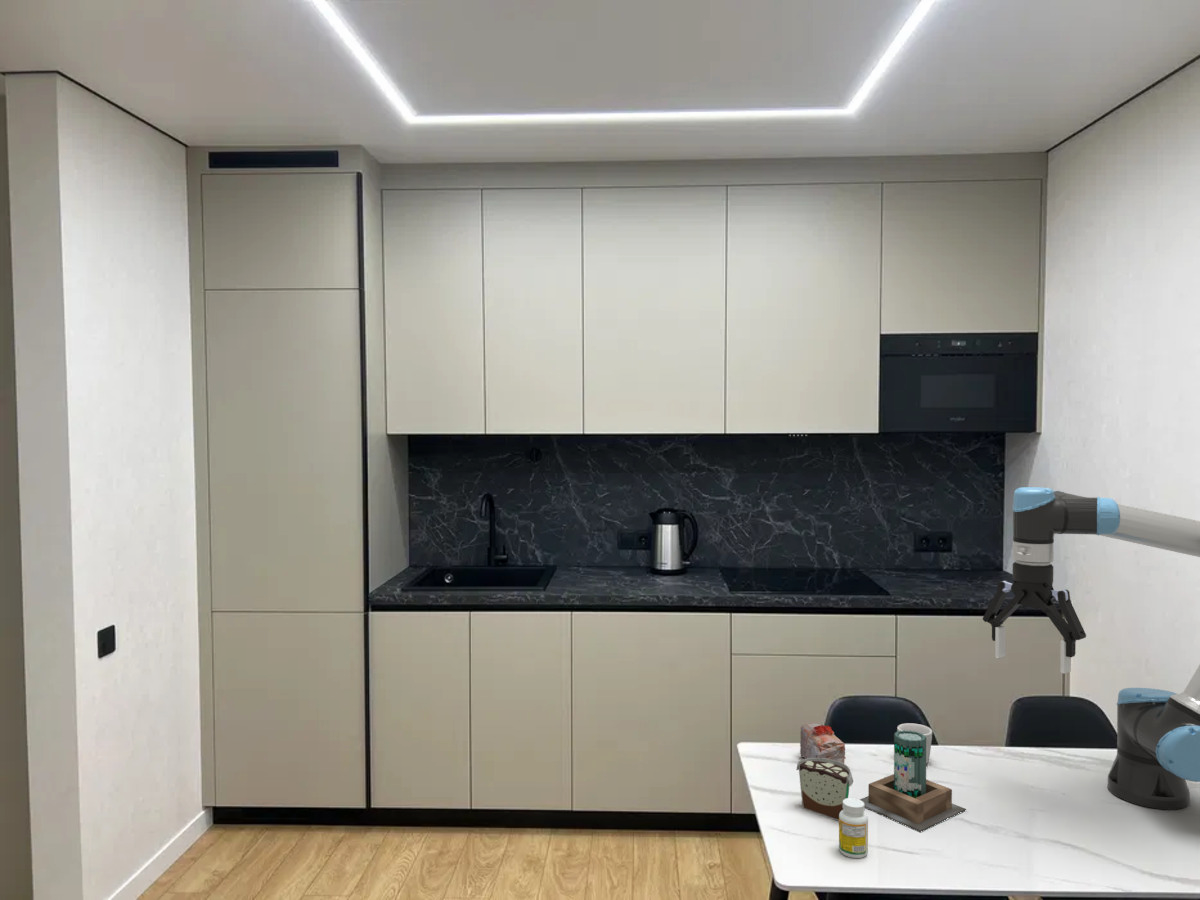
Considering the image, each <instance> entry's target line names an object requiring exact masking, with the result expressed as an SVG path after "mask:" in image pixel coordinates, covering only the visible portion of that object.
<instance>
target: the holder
mask: <svg viewBox="0 0 1200 900" xmlns="http://www.w3.org/2000/svg"><path fill="white" fill-rule="evenodd" d="M867 787H868V795H867V796H865V797H863V798H860V799H859V800H861V801H863V802H864V807H865V809H866V810H869V811H872V812H873V813H875V814H878V815H880V816H882V815H883V817H885V818H887V817H888V818H887V819H889V818H890V819H889V820H891V819H893V820H892V821H894V820H895V821H894V822H896V821H897V822H896V823H898V822H899V823H898V824H900V823H902V824H901V825H903V824H904V825H903V826H905V825H906V826H905V827H907V826H908V827H907V828H909V827H911V828H910V829H911V830H914V829H915V831H916V830H917V831H916V832H918V831H919V832H918V833H922V832H924V831H927V830H928V828H929V829H930V827H931V828H933V827H934V825H935V824H937V823H939V822H941V823H943V822H945V821H947V820H946V819H947V818H950V817H952V816H954V815H956V814H958V813H960V812H962V813H964V812H966V811H967V809H966V808H965V807H963V806H960V805H957V804H955V803H953V801H952V800H953V789H952V788H949V787H947V786H944V785H942V784H939V783H937V782H935V781H932V780H929V779H926V794H924V795H922V796H919V797H917V798H913V797H911V796H908V795H906V794H903V793H901V792H898V791H896V790H894V773H892V774H891V775H888V776H885V777H883V778H880V779H877V780H876V781H872V782H871V783H868V786H867ZM965 810H966V811H965ZM963 811H964V812H963ZM960 814H961V813H960ZM958 815H959V814H958ZM956 816H957V815H956ZM954 817H955V816H954ZM952 818H953V817H952ZM950 819H951V818H950ZM944 820H945V821H944ZM942 821H943V822H942ZM939 824H940V823H939ZM937 825H938V824H937ZM932 826H933V827H932ZM935 826H936V825H935ZM926 829H927V830H926ZM923 830H924V831H923ZM921 831H922V832H921Z"/></svg>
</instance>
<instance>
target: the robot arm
mask: <svg viewBox="0 0 1200 900" xmlns="http://www.w3.org/2000/svg"><path fill="white" fill-rule="evenodd" d="M1013 493H1014V494H1013V501H1012V533H1013V534H1012V559H1013V563H1012V580H1013V581H1012V583H1011V582H1009V580H1006V579H1005V580H1002V581H999V582H998V583H997V586H996V592H995V593H994V595H993V598H992V600H991V601H990V604H989V605H988V607H987V608H986V611H985V613H984V614H983V616H982V620H983V622H985V623H988V624H990V625H991V640H992V642H993V641H994V642H995V645H994V650H995V651H994V652H995V653H994V655H995V657H994V658H996V659H1002V658H1005V657H1006V656H1007V655H1006V653H1007V652H1006V646H1007V645H1006V643H1007V642H1006V640H1007V639H1006V634H1007V632H1006V630H1007V628H1006V627H1007V626H1006V625H1003V624H1004V623H1005V621H1006V620H1007V619H1009V618H1010V616H1012V615H1013V614H1014V612H1015V611H1016V610H1017V609H1018V608H1020V606H1022V607H1024V608H1029V607H1030V608H1032V609H1036V610H1039V609H1040V610H1041V611H1042V612H1043V613H1045V615H1047V618H1048V619H1049V620H1050V621H1051V622H1052V624H1053V625H1054V627H1055V628H1056V629H1057V631H1058V632H1059V634H1060V635H1061V636H1062V638H1063V639H1061V640H1060V654H1059V655H1060V661H1059V663H1060V664H1059V665H1060V667H1059V668H1060V669H1059V673H1060V674H1064V675H1065V674H1067V673H1070V672H1072V658H1073V657H1075V656H1076V642H1077V641H1080V640H1083V639H1086V637H1087V633H1086V632H1085V630H1084V627H1083V625H1082V623H1081V621H1080V618H1079V617H1078V615H1077V612H1076V610H1075V608H1074V606H1073V604H1072V601H1071V597H1070V596H1071V594H1070V591H1069V590H1068V589H1062V590H1058V589H1057V590H1056V589H1054V587H1053V586H1054V585H1053V583H1054V565H1053V564H1052V563H1053V562H1054V561H1055V559H1054V541H1055V540H1054V538H1055V535H1056V534H1057V535H1063V534H1064V535H1096V536H1101V537H1106V538H1111V539H1115V540H1118V541H1123V542H1129V543H1133V544H1138V545H1142V546H1147V547H1151V548H1156V549H1161V550H1165V551H1170V552H1175V553H1178V554H1183V555H1188V556H1192V557H1198V558H1200V520H1195V519H1192V518H1191V519H1190V518H1186V517H1182V516H1176V515H1171V514H1167V513H1163V512H1158V511H1153V510H1148V509H1145V508H1138V507H1134V506H1129V505H1124V504H1121V503H1117V501H1115V500H1114V499H1113V498H1111V497H1100V496H1097V497H1087V496H1081V495H1076V494H1072V493H1067V492H1064V491H1061V490H1054V489H1052V488H1050V487H1037V486H1036V487H1034V486H1033V487H1032V486H1031V487H1030V486H1029V487H1028V486H1027V487H1026V486H1025V487H1024V486H1023V487H1018V488H1016V489H1015V490H1014V492H1013ZM1010 592H1011V593H1013V595H1014V596H1013V598H1011V600H1010V601H1009V602H1008V604H1007V605H1005V607H1004V608H1003V609H1002V610H1001V611H1000V608H1002V605H1003V603H1004V601H1005V599H1006V598H1007V595H1008V594H1009V593H1010ZM1054 597H1055V600H1056V601H1057V602H1058V606H1059V608H1060V611H1061V612H1062V614H1063V616H1064V617H1063V616H1062V614H1061V613H1060V611H1059V610H1058V609H1057V605H1056V604H1055V603H1054V602H1053V600H1052V599H1053V598H1054ZM999 611H1000V612H999ZM998 612H999V613H998ZM1116 706H1117V707H1116V708H1117V716H1116V717H1117V718H1116V720H1117V722H1116V723H1117V724H1116V726H1117V728H1116V730H1117V733H1116V734H1117V736H1116V737H1117V738H1116V739H1117V740H1116V741H1117V742H1116V745H1117V747H1116V755H1115V758H1114V761H1113V764H1112V765H1111V768H1110V771H1109V773H1108V775H1107V789H1108V791H1109V790H1110V791H1111V792H1112V793H1111V792H1110V791H1109V792H1110V793H1111V794H1112V795H1114V794H1115V796H1116V797H1117V796H1118V797H1117V798H1119V797H1120V798H1119V799H1121V798H1122V800H1123V799H1124V801H1126V802H1129V803H1132V804H1135V805H1137V806H1142V807H1146V808H1151V809H1157V810H1181V809H1184V808H1187V807H1188V806H1190V802H1191V801H1190V799H1191V798H1190V795H1191V793H1190V788H1189V786H1188V784H1187V781H1190V782H1194V783H1195V782H1197V783H1200V664H1199V665H1198V666H1197V669H1196V670H1195V672H1194V673H1193V675H1192V677H1191V679H1190V680H1189V682H1188V683H1187V685H1186V687H1185V688H1184V690H1183V692H1180V693H1176V692H1173V691H1169V690H1164V689H1159V688H1157V689H1156V688H1150V687H1126V688H1122V689H1121V690H1119V691H1118V695H1117V702H1116Z"/></svg>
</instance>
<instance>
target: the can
mask: <svg viewBox="0 0 1200 900" xmlns="http://www.w3.org/2000/svg"><path fill="white" fill-rule="evenodd" d="M893 745H894V746H893V774H894V790H896V791H898V792H901V793H903V794H906V795H908V796H911V797H913V798H917V797H919V796H922V795H924V794H926V780H927V763H926V736H925V735H923V734H921V733H918V732H915V731H905V730H904V731H898V732H897V731H896V732H894V734H893Z"/></svg>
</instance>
